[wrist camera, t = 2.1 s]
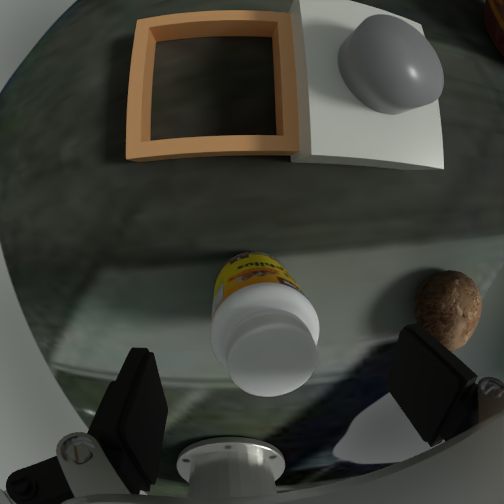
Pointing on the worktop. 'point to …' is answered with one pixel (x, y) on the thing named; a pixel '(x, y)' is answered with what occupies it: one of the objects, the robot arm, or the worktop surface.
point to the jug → (495, 22)
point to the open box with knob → (312, 86)
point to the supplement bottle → (263, 326)
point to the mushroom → (449, 308)
